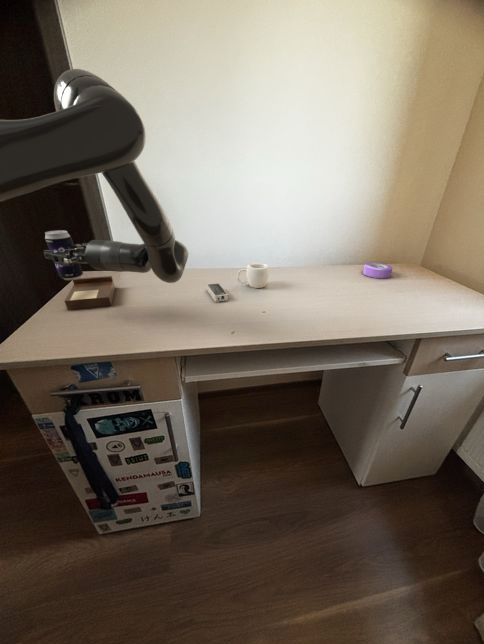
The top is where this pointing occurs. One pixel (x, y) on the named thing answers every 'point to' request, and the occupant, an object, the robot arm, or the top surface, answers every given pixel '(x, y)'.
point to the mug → (256, 275)
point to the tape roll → (377, 270)
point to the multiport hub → (217, 292)
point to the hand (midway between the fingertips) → (55, 251)
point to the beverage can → (59, 243)
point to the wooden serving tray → (90, 293)
